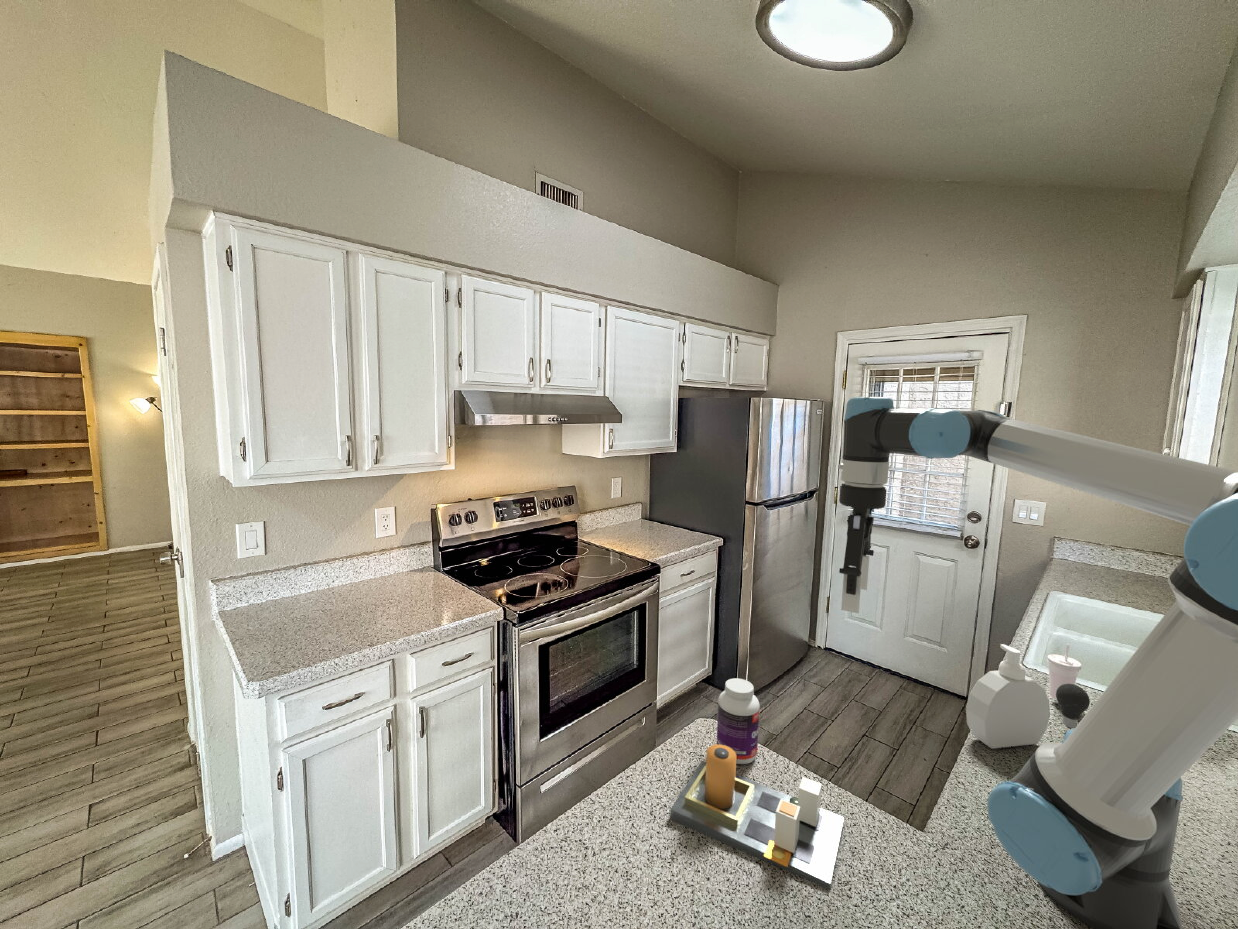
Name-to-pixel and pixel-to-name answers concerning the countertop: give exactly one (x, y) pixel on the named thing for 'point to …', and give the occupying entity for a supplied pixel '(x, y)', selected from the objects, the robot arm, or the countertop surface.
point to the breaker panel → (761, 827)
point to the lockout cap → (720, 776)
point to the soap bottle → (1008, 706)
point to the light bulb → (1072, 703)
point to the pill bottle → (738, 719)
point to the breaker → (809, 801)
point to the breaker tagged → (787, 825)
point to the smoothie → (1062, 671)
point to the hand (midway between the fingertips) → (854, 599)
